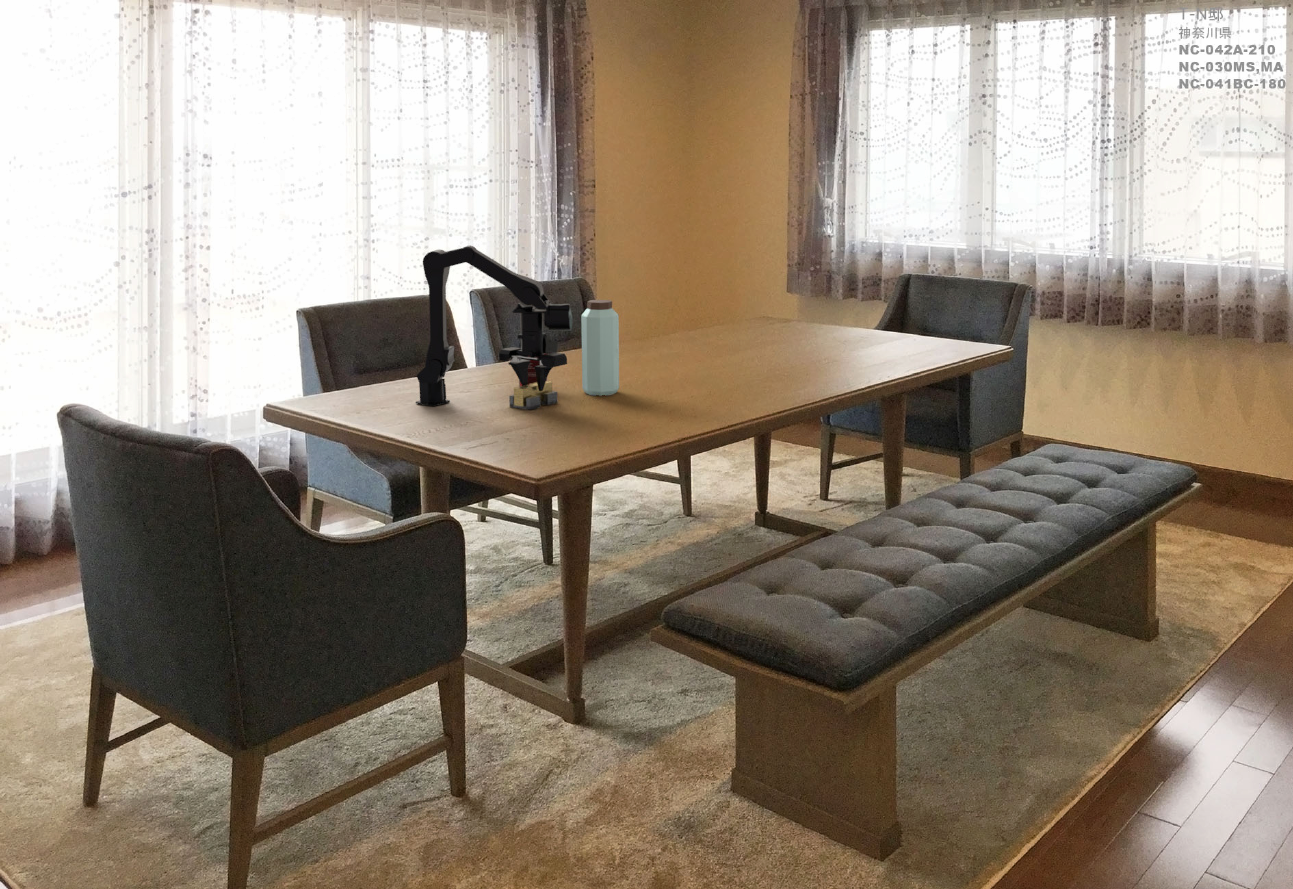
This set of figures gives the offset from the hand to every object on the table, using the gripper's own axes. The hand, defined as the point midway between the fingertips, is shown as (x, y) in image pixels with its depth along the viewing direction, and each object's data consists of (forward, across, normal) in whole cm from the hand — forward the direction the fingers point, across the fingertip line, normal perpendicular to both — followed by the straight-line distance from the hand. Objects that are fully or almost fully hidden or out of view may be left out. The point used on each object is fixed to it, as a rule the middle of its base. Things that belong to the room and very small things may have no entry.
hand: (533, 389), depth 323 cm
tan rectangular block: (+3, 0, 0) cm, 3 cm away
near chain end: (+4, 0, +4) cm, 5 cm away
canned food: (+4, +13, -16) cm, 21 cm away
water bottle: (+4, -5, -22) cm, 23 cm away
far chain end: (+4, 0, -4) cm, 5 cm away
